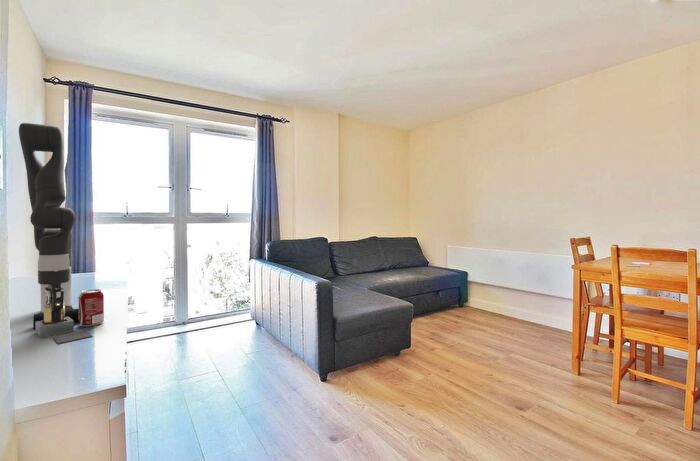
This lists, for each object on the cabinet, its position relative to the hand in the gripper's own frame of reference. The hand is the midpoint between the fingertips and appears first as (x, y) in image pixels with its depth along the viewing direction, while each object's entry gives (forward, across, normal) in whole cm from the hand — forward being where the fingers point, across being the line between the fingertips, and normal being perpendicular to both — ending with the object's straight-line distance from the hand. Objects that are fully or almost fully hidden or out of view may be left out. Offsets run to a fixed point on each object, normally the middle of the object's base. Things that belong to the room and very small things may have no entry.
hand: (54, 319), depth 102 cm
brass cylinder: (+4, 0, 0) cm, 4 cm away
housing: (+4, 0, 0) cm, 4 cm away
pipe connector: (+4, -12, +4) cm, 14 cm away
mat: (+4, +11, +2) cm, 12 cm away
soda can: (+4, 0, +10) cm, 10 cm away
